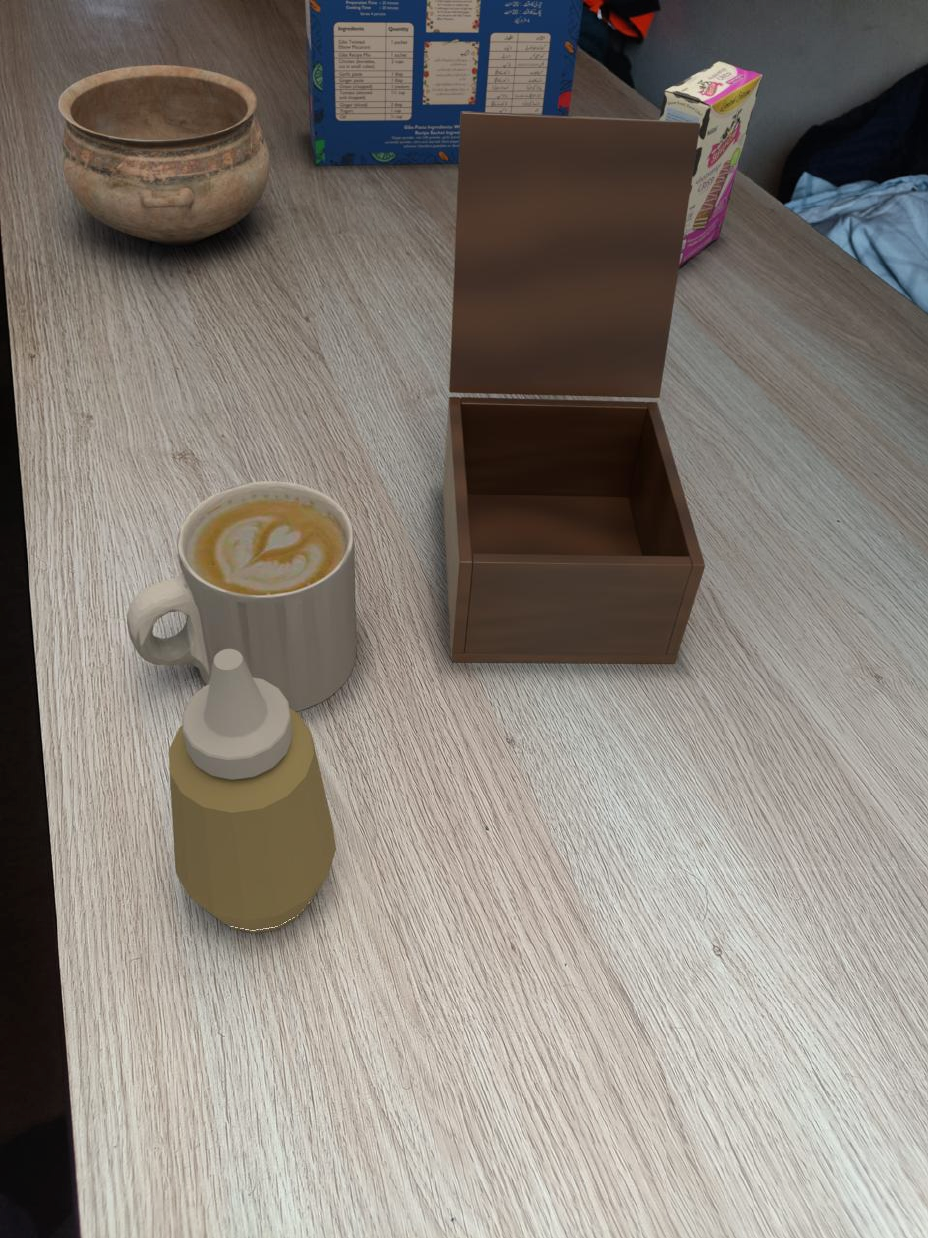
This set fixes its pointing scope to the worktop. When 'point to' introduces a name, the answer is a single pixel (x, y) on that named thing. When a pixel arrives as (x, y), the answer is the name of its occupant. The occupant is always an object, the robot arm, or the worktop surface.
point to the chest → (565, 533)
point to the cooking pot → (164, 151)
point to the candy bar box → (712, 143)
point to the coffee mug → (260, 590)
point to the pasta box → (430, 72)
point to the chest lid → (567, 252)
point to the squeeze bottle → (248, 802)
